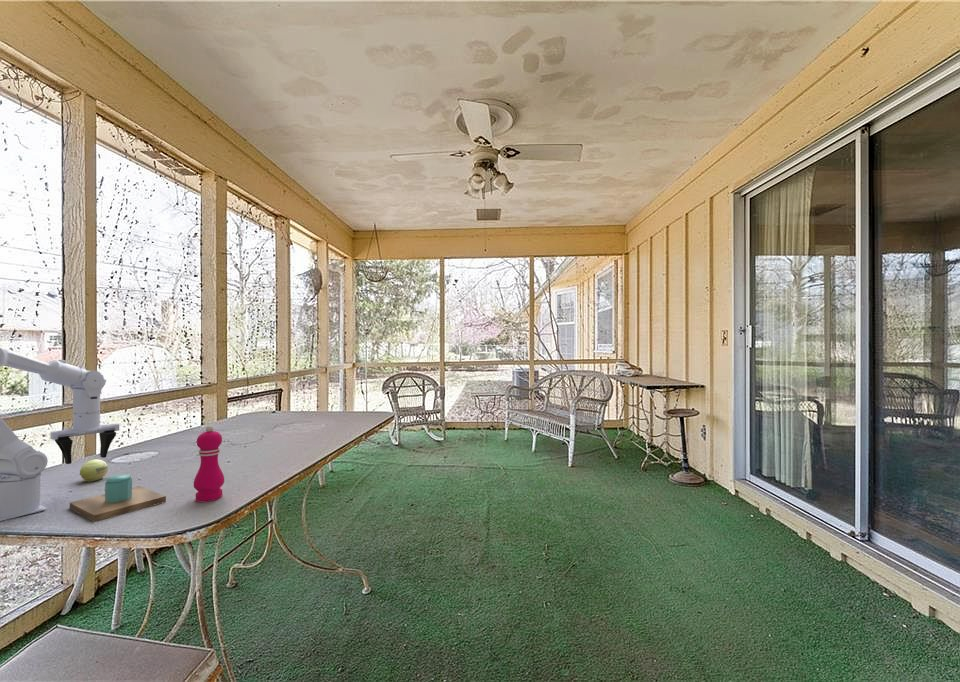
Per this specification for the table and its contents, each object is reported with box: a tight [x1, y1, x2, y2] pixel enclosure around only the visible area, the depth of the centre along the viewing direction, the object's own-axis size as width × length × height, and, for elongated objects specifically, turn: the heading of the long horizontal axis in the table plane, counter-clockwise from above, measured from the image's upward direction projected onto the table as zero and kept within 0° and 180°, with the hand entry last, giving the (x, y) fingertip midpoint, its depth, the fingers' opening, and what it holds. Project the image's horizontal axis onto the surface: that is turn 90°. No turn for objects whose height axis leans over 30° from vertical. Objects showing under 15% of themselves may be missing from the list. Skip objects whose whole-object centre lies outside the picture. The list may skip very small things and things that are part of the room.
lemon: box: [79, 458, 109, 483], centre depth 133 cm, size 6×7×7 cm
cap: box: [104, 473, 133, 503], centre depth 112 cm, size 5×5×6 cm
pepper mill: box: [193, 425, 225, 503], centre depth 118 cm, size 7×7×20 cm
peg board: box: [69, 485, 167, 522], centre depth 112 cm, size 15×16×6 cm
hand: (86, 460), depth 121 cm, fingers open, 7 cm apart
